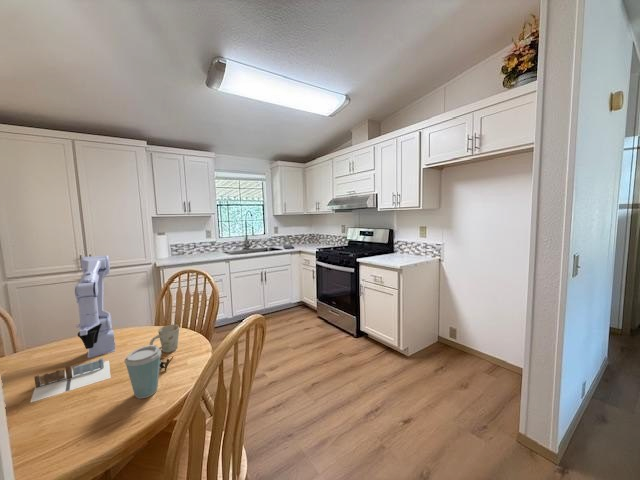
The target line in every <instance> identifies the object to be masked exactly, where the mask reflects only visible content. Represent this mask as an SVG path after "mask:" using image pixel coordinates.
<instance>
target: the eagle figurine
mask: <svg viewBox="0 0 640 480" xmlns="http://www.w3.org/2000/svg"><path fill="white" fill-rule="evenodd" d="M173 359H174V356H172V357H171V358H170V359H169V358H167V359H166V361H162V358H161V357H160V368H162V369H164V372H167V369H168V366H169V364H170V363H171V362H172V360H173Z"/></svg>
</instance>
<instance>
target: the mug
mask: <svg viewBox="0 0 640 480" xmlns="http://www.w3.org/2000/svg"><path fill="white" fill-rule="evenodd" d="M157 331H158V335H156V336H154V337H152V338H151V340H150V342H149V345H154V342H155V340H157V339H159V341H160V345H161V346H159V349H160V350H161V352H163V353H171V352H175V351H176V350H177V349H178V347H179V346H178V345H179V334H180V325H178V324H168V325H167V324H166V325H164V326H162V327H159V329H158V330H157Z"/></svg>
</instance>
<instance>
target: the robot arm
mask: <svg viewBox="0 0 640 480" xmlns="http://www.w3.org/2000/svg"><path fill="white" fill-rule="evenodd" d="M80 266H81V267H80V268H81V270H82V272H83V273H82V274H81V277H80V279H79V283H78V284H76V285H75V286H74V296H75V299H76V303H77V306H78V314H79V315H78V317H79V324H77V325H76V328H79V331H78V333H77V336H78V338H80V340H81V341H82V343H83V345H84V347H85V349H86V350H88V351H87V359H91V358H95V357H98V356H102V355H106V354H109V353H114V352H116V341H115V333H114V329H112V326H113V325H112V322H113V321H112V316H111V313H110V312H109V311H106V310H104V295H105V294H104V290H105V289H104V285H105V284H104V281H105V276H107V275H109V274H110V272H111V271H110V270H111V267H110V266H111V260H110V256H109V255H107V254H105V255H94V256H83V257H81V259H80Z"/></svg>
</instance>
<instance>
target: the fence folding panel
mask: <svg viewBox="0 0 640 480" xmlns="http://www.w3.org/2000/svg"><path fill="white" fill-rule="evenodd" d="M103 362H104V358H103V357H102V358H99V359H97V360H95V361H89V362H88V363H82V364H79V365H76V366H74V367H73V366H72V370H73V375H78V374H83V373H85V372H88V371H93V370H95V369H99V368H100V369H101V368H104V363H103Z"/></svg>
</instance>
